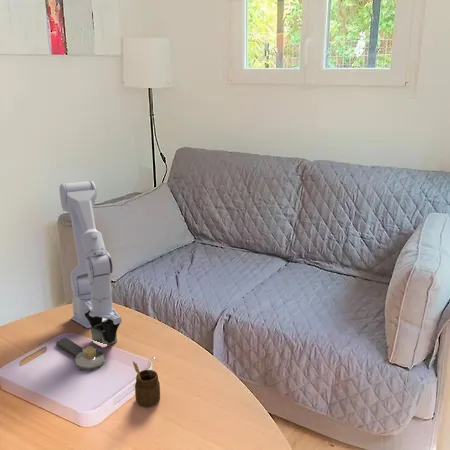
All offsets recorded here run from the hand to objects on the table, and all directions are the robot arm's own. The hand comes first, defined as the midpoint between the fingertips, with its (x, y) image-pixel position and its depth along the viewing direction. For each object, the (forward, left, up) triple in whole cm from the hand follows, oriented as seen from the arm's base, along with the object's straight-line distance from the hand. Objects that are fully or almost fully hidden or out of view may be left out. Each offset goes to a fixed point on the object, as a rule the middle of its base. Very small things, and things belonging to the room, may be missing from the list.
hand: (104, 337), depth 148 cm
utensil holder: (+30, -9, -2) cm, 31 cm away
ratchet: (+1, -9, -1) cm, 9 cm away
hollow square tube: (0, 0, -1) cm, 1 cm away
